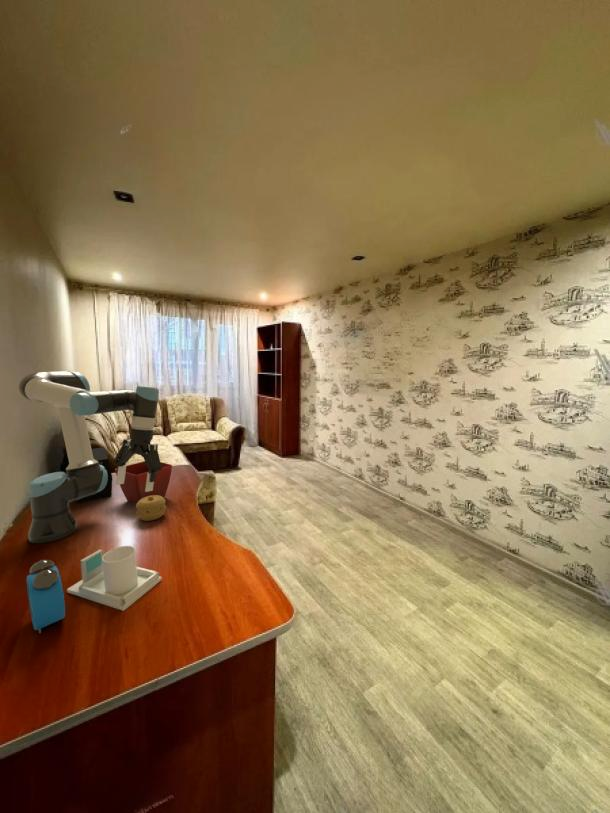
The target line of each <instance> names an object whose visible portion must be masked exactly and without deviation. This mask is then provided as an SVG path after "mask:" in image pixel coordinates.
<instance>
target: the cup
mask: <svg viewBox="0 0 610 813" xmlns="http://www.w3.org/2000/svg"><path fill="white" fill-rule="evenodd" d="M102 564H103V574H104V585H105V591H106V593H109V594H112V595H115V596H116V595H121V594H124V593H126V592H128V591H130V590H131V589H133V588H134V587H135V585H136V584H137V581H138V576H137V567H138V565H137V564H138V563H137V553H136V548H135V547H134V546H131V545H124V546H123V545H122V546H118V547H114V548H112V549H110V550H108V551H107V552H105V553H103V557H102Z"/></svg>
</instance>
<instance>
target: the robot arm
mask: <svg viewBox="0 0 610 813" xmlns="http://www.w3.org/2000/svg"><path fill="white" fill-rule="evenodd" d="M18 390H19V392H20V394H21V396H23V398H25V399H27V400H28V401H31V402H35V403H45V402H46V403H50V404H51V405H52V406H53V407H54V408H57V411H58V416H59V419H60V426H61V429H62V434H63V439H64V440H63V441H64V444H65V449H66V454H67V459H68V465H67V467H66V468H65V471H66V472H65V471H55V472H52V473H51V472H50V473H46V474H43V475H40V476H38V477H36V478H34V479H32V481H31V482H30V483H29V485H28V496H29V502H30V511H31V518H32V520H31V523H30V526H29V530H28V534H27V537H28V538H27V539H28V541H29V543H31V544H45V543H50V542H54V541H58V540H60V539H61V540H62V539H63V538H65V537H68V536H70V535H71V534H73V533H74V532H75V531H76V530H78V524H77V523H78V522H77V520H76V518H75V516H74V515H73V514H72V511H71V508H70V507H71V506H70V503H72V502H74V501H77V500H78V499H80V498H83V497H86V496H89V495H93V494H95V493H97V492H100V491H102V490H103V489H104V488H105V486H106V484H107V481H108V474H107V471H106V469H105V467H104V466H102V465H99V463H98V461H96V460H95V459H93V454H92V449H93V448H92V446H91V441H90V436H89V431H88V430H89V429H88V427H87V421H86V420H87V419H86V416H92V415H99V414H105V413H113V412H122V411H132V416H131V417H132V418H131V423H130V427H132V428H131V429H130V431H129V439H124V440H123V441H122V445H121V447H119V448H120V449H119V450H118V453H117V454H116V456H115V457H114V459H113V464H116V466H117V475H116V482H115V485H117V486H118V485H119V486H120V484H124V479H125V472H126V466H127V463H128V462H129V460H131V458H133V456H134V455H138V456H141V457H142V458H143V461H145V462H146V465H147V467H148V469H149V471H150V472H148V474H147V481H146V488H145V492H148V491H153V485H154V482H155V480H156V473H157V472H160V471H162V467H161V463H160V462H161V459H160V454H159V445H158V444H157V443H155V444H154V443H153V444H151V443H152V440H153V438H154V429H155V423H156V416H157V410H158V403H159V394H160V393H159V392H160V390H159V388H157V387H154V386H148V385H147V386H146V385H137V386H136V389H135V390H134V389H133V390H132V389H126V388H123V389H122V388H120V389H119V388H117V389H115V390H109V391H108V390H106V391H91V386H90V382H89V380H88V378H86V376H85V375H84V374H83V373H80V372H78V371H71V370H70V371H68V370H67V371H35V372H31V373H29V374H27V375H24V376H23V378H22V379H21V380H20V381H19V383H18Z"/></svg>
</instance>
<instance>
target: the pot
mask: <svg viewBox="0 0 610 813" xmlns="http://www.w3.org/2000/svg"><path fill="white" fill-rule="evenodd" d="M166 501H167V500H166V499H165V497H164V498H163V497H162V496H159V495H151V496H147V497H144V498H142V499H141V500H139V501H138V503H137V504H135V508H136V509H137V510H136V512H135V513H136V516H137V517H138V518H139V519H140V520H142V521H146V522H151V521H154V520H157V519H159V518H161V517H162V516H163V515H164V514H165V512H166V509H167V506H166Z"/></svg>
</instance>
